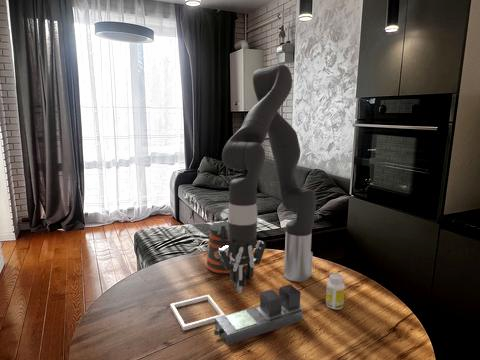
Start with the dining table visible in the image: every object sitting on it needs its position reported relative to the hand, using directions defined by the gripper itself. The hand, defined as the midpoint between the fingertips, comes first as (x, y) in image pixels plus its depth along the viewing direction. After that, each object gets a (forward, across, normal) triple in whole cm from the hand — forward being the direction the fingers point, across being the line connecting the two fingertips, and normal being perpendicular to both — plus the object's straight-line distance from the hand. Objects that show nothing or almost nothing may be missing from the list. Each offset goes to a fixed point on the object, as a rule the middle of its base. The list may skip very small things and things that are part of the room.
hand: (241, 280), depth 91 cm
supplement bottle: (+15, -32, +2) cm, 35 cm away
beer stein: (+15, -12, -36) cm, 41 cm away
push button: (+2, 0, 0) cm, 3 cm away
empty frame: (+15, +8, -13) cm, 21 cm away
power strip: (+15, -6, 0) cm, 16 cm away
